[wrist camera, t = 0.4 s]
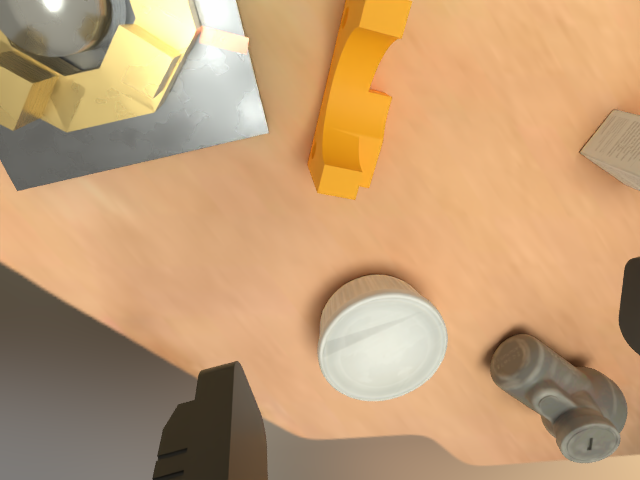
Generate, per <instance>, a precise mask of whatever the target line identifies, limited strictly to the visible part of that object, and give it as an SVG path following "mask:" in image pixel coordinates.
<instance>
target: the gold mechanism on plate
mask: <svg viewBox="0 0 640 480" xmlns="http://www.w3.org/2000/svg"><path fill="white" fill-rule="evenodd" d="M193 1H194V5H195V8H196V12H197V15H198V19H199V22H200V26H201V31H200V33H199V35H198V37H197V39H196V41H195V43H194V45H193V47H192V49H191V51H190V53H189V55H188V57H187V59H186V61H185V63H184V65H183V67H182V68H181V70H180V72H179V74H178V76H177V78H176V80H175V82H174V84H173V86H172V88H171V90H170V92H169V94H168V96H167V98H166V100H165V102H164V104H163V105H162V106H161V107H160V108H159V109H158V110H157V111H156V112H154V113H150V114H145V115H141V116H137V117H132V118H128V119H124V120H119V121H115V122H110V123H106V124H102V125H97V126H93V127H88V128H84V129H80V130H75V131H71V132H65V131H63V130H61V129H59V128H57V127H55V126H53V125H51V124H49V123H47V122H46V121H44V120H42V119H37V120H35V121H33V122H31V123H29V124H27V125H25V126H23V127H21V128H19V129H17V130H14V131H12V130H10V129H8V128H6V127H4V126H2V125H1V124H0V160H1V162H2V164H3V166H4V168H5V169H6V171H7V173H8V175H9V177H10V179H11V180H12V182H13V184H14V186H15V188H16V190H17V191H19V190H24V189H28V188H32V187H37V186H41V185H45V184H50V183H54V182H58V181H63V180H67V179H71V178H76V177H80V176H84V175H89V174H93V173H97V172H102V171H106V170H110V169H115V168H119V167H123V166H128V165H132V164H136V163H141V162H145V161H149V160H154V159H158V158H162V157H167V156H171V155H175V154H180V153H184V152H188V151H193V150H197V149H201V148H206V147H210V146H214V145H219V144H223V143H227V142H232V141H236V140H240V139H245V138H249V137H253V136H258V135H262V134H266V133H269V130H268V125H267V121H266V117H265V113H264V109H263V105H262V101H261V97H260V93H259V89H258V85H257V81H256V77H255V73H254V69H253V65H252V61H251V57H250V53H249V49H248V43H249V38H248V37H245V33H244V29H243V25H242V21H241V17H240V13H239V10H238V6H237V2H236V0H193ZM135 19H136V17H135V14H134V11H133V8H132V6H131V3H130V0H0V30H1V31H2V32H3V33H4V34H5V35H6V36H7V37H8V38H9V39H10V40H11V41H12V42H14V43H15V44H16V45H18V46H19V47H21V48H23V49H25V50H27V51H29V52H31V53H34V54H36V55H40V56H46V57H59V58H61V59H63V60H64V61H66V62H68V63H70V64H71V65H73V66H75V67H77V68H78V69H80V70H82V71H83V70H87V69H92V68H96V67H100V66H101V64H102V62H103V59H104V57H105V55H106V53H107V50H108V48H109V46H110V44H111V42H112V39H113V37H114V35H115V33H116V31H117V28H118V26H119V25H122V24H134V21H135Z"/></svg>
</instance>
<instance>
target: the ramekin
mask: <svg viewBox="0 0 640 480" xmlns="http://www.w3.org/2000/svg"><path fill="white" fill-rule="evenodd" d="M447 342H448V335H447V329H446V326H445V323H444V320H443V318H442V316H441V315H440V313H439V311H438V310H437V309H436V307H435V306H434V305H433V304H432V303H431V302H430V301H429V300H427V299H426V298H425V297H423V296H421V295H420V294H419V293H418V292H417V291H416V290H415V289H414V288H413V287H411V286H410V285H409V284H408V283H406V282H405V281H403V280H400V279H398V278H395V277H392V276H387V275H378V274H377V275H368V276H363V277H360V278H357V279H355V280H352V281H350V282H348V283H347V284H345V285H343V286H342V287H341V288H339V289H338V290H337V291H336V292H335V293H334V294H333V295H332V297H331V298H330V299H329V300H328V302H327V304H326V305H325V308H324V309H323V311H322V315H321V321H320V337H319V341H318V361H319V365H320V368H321V371H322V373H323V375H324V377H325V378H326V380H327V381H328V383H329V384H330V385H331V386H332V387H334V388H335V389H336V390H337V391H339V392H341V393H342V394H344V395H346V396H349V397H351V398H354V399H359V400H364V401H384V400H388V399H393V398H396V397H399V396H402V395H405V394H407V393H409V392H411V391H413V390H415V389H416V388H418V387H419V386H421V385H423V384H424V383H425V382H426V381H427V380H429V379H430V378H431V377H432V376H433V374H434V373H435V372H436V370H437V369H438V367H439V366H440V364H441V362H442V360H443V358H444V356H445V353H446V349H447Z"/></svg>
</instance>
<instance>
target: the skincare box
mask: <svg viewBox="0 0 640 480" xmlns="http://www.w3.org/2000/svg"><path fill="white" fill-rule="evenodd" d="M580 153H581V154H582V155H584V156H585V157H586V158H588V159H589V160H591V161H592V162H594V163H595V164H596V165H598V166H599V167H601V168H602V169H603V170H605V171H606V172H608V173H609V174H611V175H612V176H614V177H615V178H616V179H618V180H619V181H621V182H622V183H624V184H625V185H627V186H630V187H632V188H634V189H636V190H638V191H640V115H636V114H632V113H628V112H623V111H619V110H613V111H612V112H611V113H610V114H609V116H608V117H607V118H606V120H605V121H604V122H603V123H602V125H601V126H600V127H599V128H598V130H597V131H596V132H595V134H594V135H593V136H592V137H591V139H590V140H589V141H588V142H587V143H586V145H585V146H584V147H583V149H582V150H581V151H580Z"/></svg>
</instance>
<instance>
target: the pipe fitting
mask: <svg viewBox="0 0 640 480" xmlns="http://www.w3.org/2000/svg"><path fill="white" fill-rule="evenodd" d="M490 372H491V377H492V379H493V381H494V382H495V384H496V385H497V386H498V387H500V388H501V389H502V390H504V391H505V392H507V393H508V394H510V395H511V396H513V397H514V398H516V399H517V400H519V401H520V402H522V403H523V404H525V405H526V406H528V407H529V408H531V409H532V410H534V411H535V412H537V413H538V414H540V415H541V419H542V422H543V424H544V426H545V428H546V429H547V430H548V432H549V433H550V434H551V435H552V436H554V437H555V438H556V442H557V445H558V447H559V449H560V451H561V452H562V454H563V455H564V456H565V457H566V458H567V459H569V460H571V461H573V462H577V463H592V462H596V461H599V460H602V459H604V458H606V457H608V456H610V455H611V454H612V453H613V452H614V451H615V450H616V449H617V448H618V446H619V444H620V434H619V433H620V432H621V431H622V429H623V427H624V425H625V422H626V418H627V403H626V400H625V397H624V395H623V393H622V391H621V390H620V388H619V387H618V386H617V385H616V384H615V383H614V382H613V381H612V380H611V379H609V378H608V377H606V376H605V375H604V374H602V373H601V372H599V371H597V370H595V369H592V368H588V367H574V366H573V365H572V364H570V363H569V362H568V361H566V360H565V359H564V358H562V357H561V356H560V355H558V354H557V353H555V352H554V351H553V350H551V349H550V348H549V347H547V346H546V345H545V344H543V343H542V342H541V341H539V340H538V339H536V338H534V337H533V336H531V335H527V334H518V335H514V336H512V337H510V338H508V339H506V340H505V341H504V342H502V343H501V344H500V345H499V347H498V348H497V349H496V351H495V353H494V355H493V357H492V360H491V364H490Z"/></svg>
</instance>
